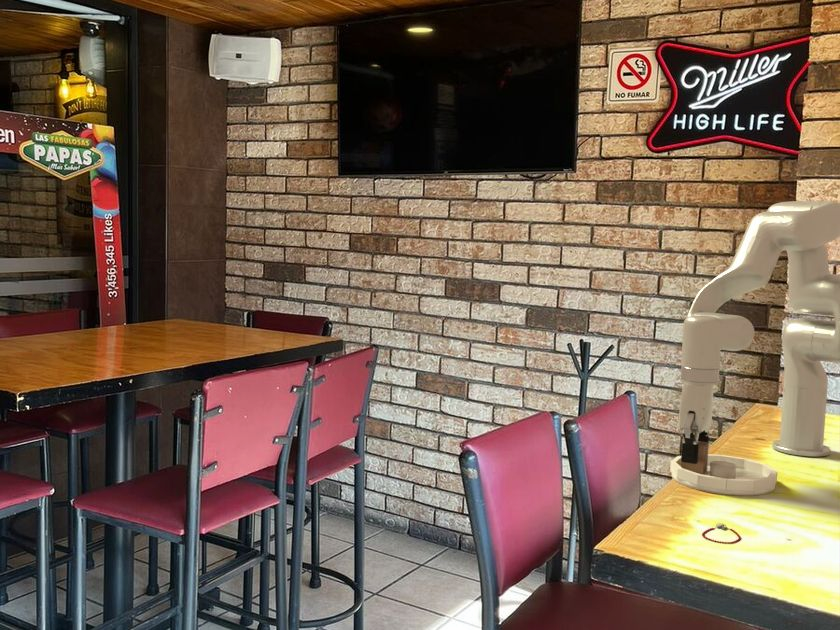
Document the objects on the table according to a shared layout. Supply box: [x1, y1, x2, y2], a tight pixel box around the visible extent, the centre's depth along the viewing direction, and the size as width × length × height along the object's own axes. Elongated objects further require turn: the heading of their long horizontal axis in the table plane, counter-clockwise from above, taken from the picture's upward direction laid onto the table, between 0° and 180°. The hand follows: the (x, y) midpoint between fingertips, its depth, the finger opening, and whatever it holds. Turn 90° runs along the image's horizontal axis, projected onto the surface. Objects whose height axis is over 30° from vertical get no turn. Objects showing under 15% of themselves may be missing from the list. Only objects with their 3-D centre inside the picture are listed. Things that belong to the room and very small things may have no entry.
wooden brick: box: [681, 441, 710, 475], centre depth 175 cm, size 4×4×6 cm
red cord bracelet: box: [701, 522, 742, 545], centre depth 140 cm, size 9×6×1 cm
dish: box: [669, 453, 779, 497], centre depth 172 cm, size 20×20×4 cm
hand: (694, 457), depth 175 cm, fingers open, 8 cm apart
